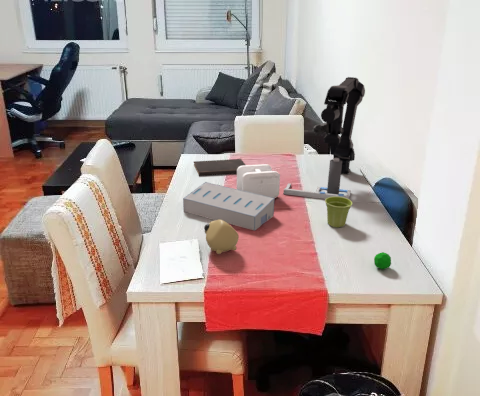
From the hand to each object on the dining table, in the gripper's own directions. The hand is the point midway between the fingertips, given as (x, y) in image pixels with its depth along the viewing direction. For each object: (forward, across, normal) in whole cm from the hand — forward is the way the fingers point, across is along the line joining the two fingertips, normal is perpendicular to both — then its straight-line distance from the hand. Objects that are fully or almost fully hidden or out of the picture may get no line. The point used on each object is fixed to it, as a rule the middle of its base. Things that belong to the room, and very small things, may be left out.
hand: (332, 154), depth 210 cm
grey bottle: (+13, +12, +3) cm, 18 cm away
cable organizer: (+13, +24, -26) cm, 38 cm away
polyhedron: (+13, +68, +23) cm, 73 cm away
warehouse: (+14, +44, -32) cm, 56 cm away
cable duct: (+13, +13, -4) cm, 19 cm away
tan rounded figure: (+13, +72, -26) cm, 78 cm away
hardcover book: (+14, -3, -50) cm, 52 cm away
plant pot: (+13, +41, +7) cm, 44 cm away
